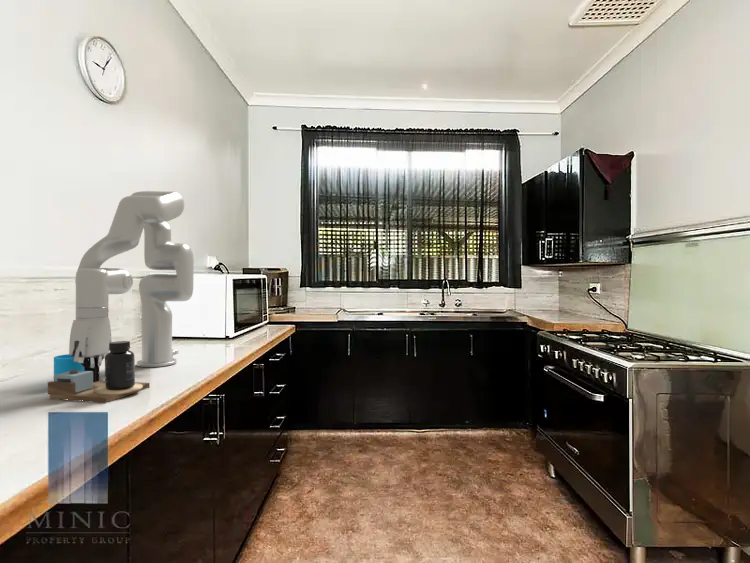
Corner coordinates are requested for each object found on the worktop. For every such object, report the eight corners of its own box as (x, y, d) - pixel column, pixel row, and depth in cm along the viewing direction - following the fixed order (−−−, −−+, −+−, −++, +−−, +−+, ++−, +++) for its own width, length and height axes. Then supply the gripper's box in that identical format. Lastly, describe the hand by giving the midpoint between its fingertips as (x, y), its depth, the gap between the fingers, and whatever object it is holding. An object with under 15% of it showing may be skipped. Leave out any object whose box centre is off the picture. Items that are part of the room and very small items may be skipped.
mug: (81, 387, 125) (81, 358, 124) (47, 389, 123) (48, 359, 123) (97, 378, 136) (98, 351, 136) (67, 379, 134) (67, 351, 134)
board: (97, 384, 128) (97, 369, 128) (157, 387, 125) (157, 372, 125) (47, 399, 112) (47, 382, 112) (115, 403, 109) (115, 386, 109)
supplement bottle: (129, 383, 123) (129, 339, 123) (138, 387, 119) (138, 341, 118) (101, 387, 118) (101, 341, 118) (109, 392, 114) (109, 344, 113)
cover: (73, 386, 119) (73, 367, 119) (93, 387, 118) (93, 368, 118) (53, 392, 114) (53, 371, 113) (74, 393, 113) (74, 372, 112)
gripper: (101, 311, 130) (100, 375, 130) (56, 315, 115) (55, 387, 115) (124, 312, 128) (124, 376, 129) (82, 316, 114) (81, 389, 114)
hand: (91, 381), depth 122 cm, fingers closed
